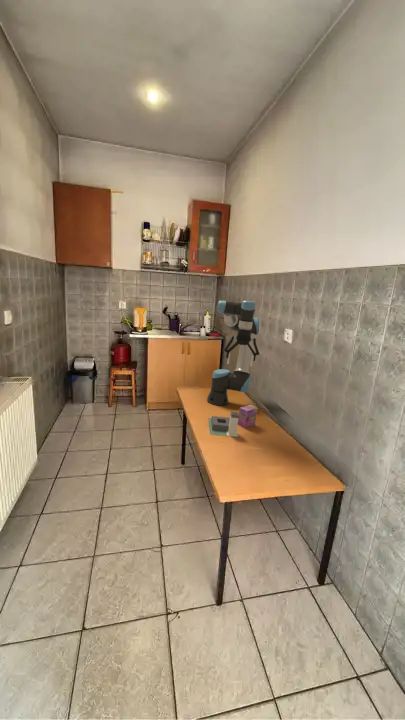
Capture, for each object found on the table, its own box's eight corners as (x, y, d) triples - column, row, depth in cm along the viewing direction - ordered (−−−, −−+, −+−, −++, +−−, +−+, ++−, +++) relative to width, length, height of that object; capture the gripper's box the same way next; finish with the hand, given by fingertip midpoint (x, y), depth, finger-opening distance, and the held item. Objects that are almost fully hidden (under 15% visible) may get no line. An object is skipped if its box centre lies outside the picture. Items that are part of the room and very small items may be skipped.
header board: (208, 418, 183) (208, 412, 182) (233, 421, 184) (234, 414, 183) (209, 435, 162) (210, 428, 161) (238, 438, 163) (239, 431, 162)
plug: (227, 431, 168) (230, 411, 165) (234, 431, 168) (237, 412, 165) (228, 434, 164) (231, 414, 161) (235, 435, 164) (238, 415, 161)
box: (244, 429, 175) (246, 410, 172) (236, 425, 179) (239, 407, 176) (255, 425, 182) (258, 407, 179) (248, 421, 186) (250, 404, 183)
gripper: (223, 327, 163) (218, 364, 168) (268, 332, 164) (262, 368, 170) (222, 325, 170) (217, 361, 176) (265, 330, 172) (259, 365, 177)
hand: (239, 364), depth 173 cm, fingers open, 13 cm apart
